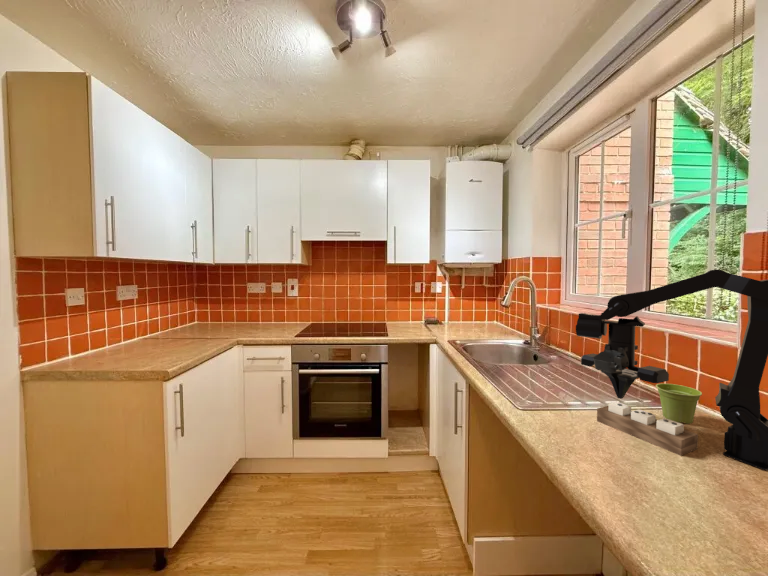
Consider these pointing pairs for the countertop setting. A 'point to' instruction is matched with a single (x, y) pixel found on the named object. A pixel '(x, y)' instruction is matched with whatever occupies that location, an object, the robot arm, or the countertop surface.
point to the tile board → (649, 432)
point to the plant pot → (678, 402)
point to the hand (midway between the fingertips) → (620, 398)
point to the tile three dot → (643, 417)
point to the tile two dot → (670, 426)
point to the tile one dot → (619, 408)
